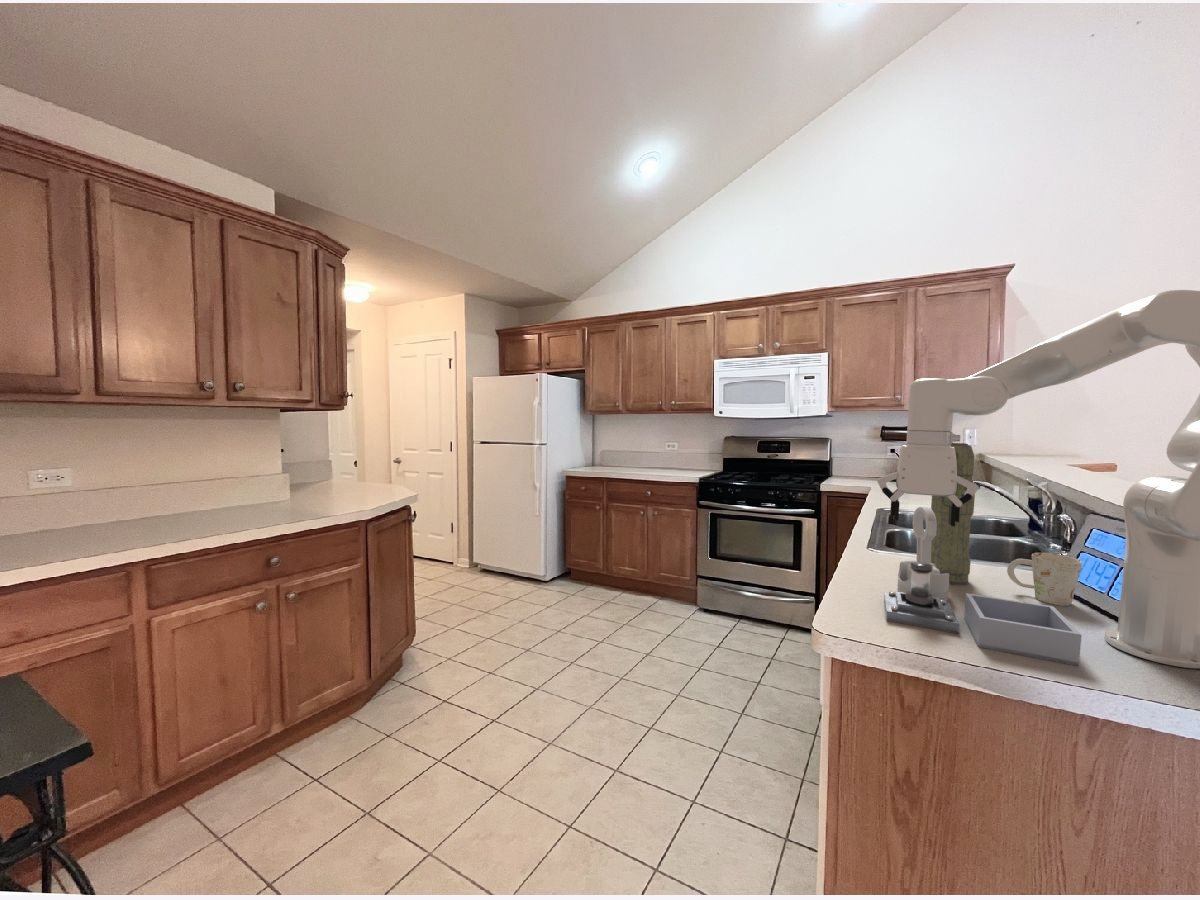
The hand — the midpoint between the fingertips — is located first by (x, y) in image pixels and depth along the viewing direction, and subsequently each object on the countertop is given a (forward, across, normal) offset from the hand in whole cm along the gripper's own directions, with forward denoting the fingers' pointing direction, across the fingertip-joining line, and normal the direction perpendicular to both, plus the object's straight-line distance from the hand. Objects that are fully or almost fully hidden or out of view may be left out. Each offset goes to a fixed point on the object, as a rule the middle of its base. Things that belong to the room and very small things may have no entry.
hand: (923, 522), depth 100 cm
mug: (+20, -26, -26) cm, 42 cm away
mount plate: (+20, 0, 0) cm, 20 cm away
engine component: (+20, -2, -16) cm, 26 cm away
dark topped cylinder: (+18, 0, 0) cm, 18 cm away
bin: (+20, -15, +4) cm, 25 cm away
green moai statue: (+20, -9, -31) cm, 38 cm away
